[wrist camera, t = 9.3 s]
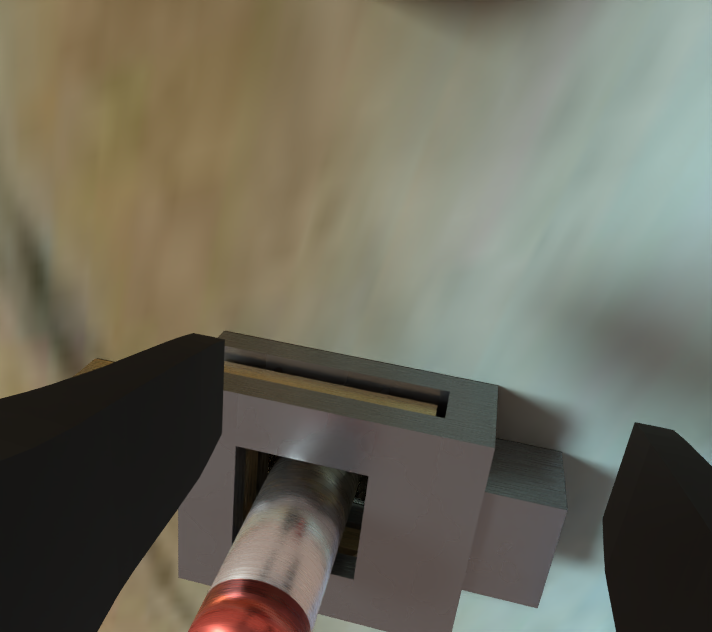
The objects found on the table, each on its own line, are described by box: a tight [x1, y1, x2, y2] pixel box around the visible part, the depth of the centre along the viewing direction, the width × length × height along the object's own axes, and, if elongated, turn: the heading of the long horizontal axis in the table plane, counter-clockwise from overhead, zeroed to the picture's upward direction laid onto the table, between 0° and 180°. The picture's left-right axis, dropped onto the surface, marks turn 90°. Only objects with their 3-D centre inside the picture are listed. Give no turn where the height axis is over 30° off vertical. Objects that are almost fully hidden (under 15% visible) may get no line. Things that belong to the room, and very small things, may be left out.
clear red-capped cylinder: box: [188, 456, 362, 632], centre depth 21 cm, size 3×3×9 cm
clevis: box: [73, 331, 568, 632], centre depth 23 cm, size 17×8×4 cm, turn 83°
